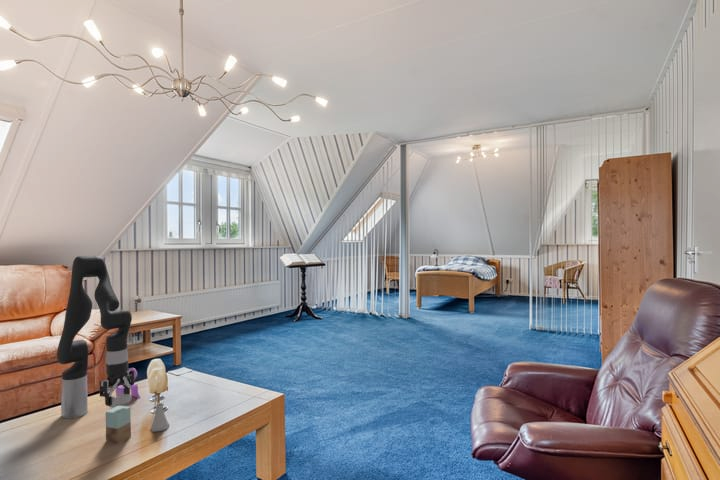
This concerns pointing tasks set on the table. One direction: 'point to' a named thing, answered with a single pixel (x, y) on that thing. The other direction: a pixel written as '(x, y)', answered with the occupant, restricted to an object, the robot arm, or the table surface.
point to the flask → (159, 419)
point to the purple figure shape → (133, 387)
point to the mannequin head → (121, 400)
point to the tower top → (118, 417)
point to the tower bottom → (118, 434)
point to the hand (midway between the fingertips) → (117, 401)
